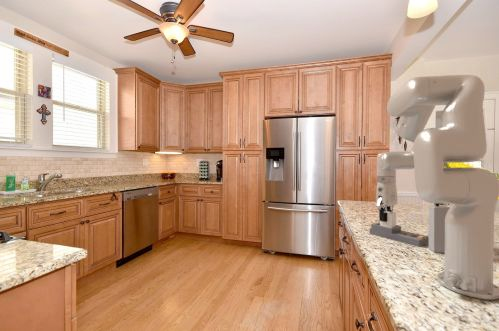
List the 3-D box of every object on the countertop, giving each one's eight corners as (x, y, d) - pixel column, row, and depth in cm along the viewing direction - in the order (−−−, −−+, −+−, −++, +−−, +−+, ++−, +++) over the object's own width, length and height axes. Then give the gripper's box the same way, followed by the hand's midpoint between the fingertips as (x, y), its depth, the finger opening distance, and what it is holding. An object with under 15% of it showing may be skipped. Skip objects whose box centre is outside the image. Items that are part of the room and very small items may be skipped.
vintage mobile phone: (449, 253, 86) (450, 184, 85) (434, 252, 87) (434, 184, 86) (443, 249, 89) (443, 183, 89) (428, 249, 90) (428, 183, 90)
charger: (391, 232, 104) (391, 213, 104) (379, 229, 108) (379, 211, 108) (395, 230, 106) (396, 212, 106) (384, 228, 110) (384, 210, 110)
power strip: (418, 248, 93) (418, 235, 93) (369, 234, 110) (369, 224, 110) (429, 243, 97) (429, 231, 97) (380, 231, 114) (380, 221, 114)
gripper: (385, 181, 100) (384, 225, 100) (403, 179, 109) (403, 219, 109) (367, 180, 106) (367, 221, 106) (387, 178, 115) (386, 216, 115)
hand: (385, 220), depth 108 cm, fingers closed on charger, 4 cm apart
